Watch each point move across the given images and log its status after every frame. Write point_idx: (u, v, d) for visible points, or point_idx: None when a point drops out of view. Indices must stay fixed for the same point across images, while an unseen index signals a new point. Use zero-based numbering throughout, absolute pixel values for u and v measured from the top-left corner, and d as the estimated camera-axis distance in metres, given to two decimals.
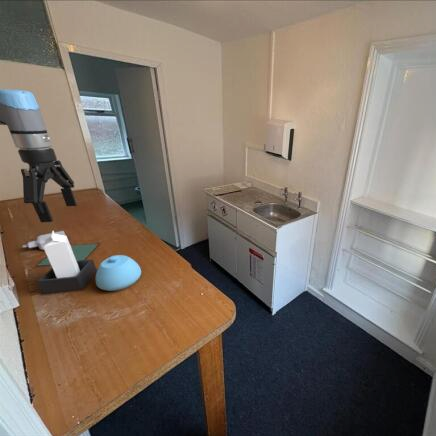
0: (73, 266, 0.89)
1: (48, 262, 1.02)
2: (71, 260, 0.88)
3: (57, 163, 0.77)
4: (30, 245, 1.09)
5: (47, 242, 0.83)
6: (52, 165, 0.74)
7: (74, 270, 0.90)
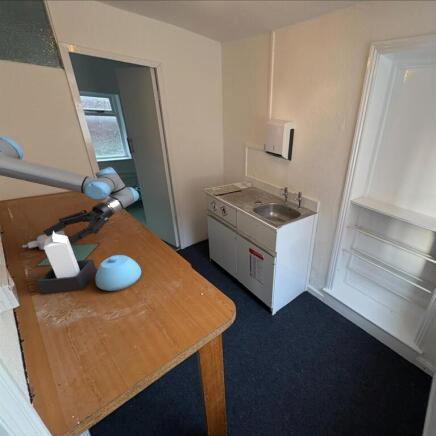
0: (73, 267, 0.89)
1: (48, 262, 1.02)
2: (71, 261, 0.88)
3: None
4: (30, 245, 1.09)
5: (48, 243, 0.82)
6: None
7: (74, 270, 0.90)
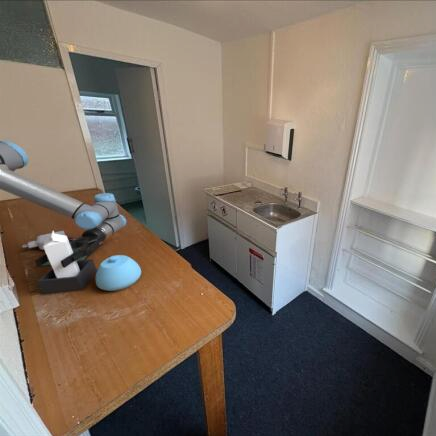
0: (73, 266, 0.89)
1: (48, 262, 1.02)
2: None
3: None
4: (30, 245, 1.09)
5: (47, 242, 0.83)
6: None
7: (74, 270, 0.90)
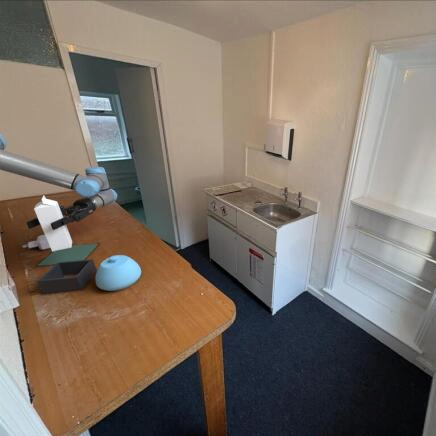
0: (63, 230, 0.94)
1: (48, 262, 1.02)
2: None
3: None
4: (30, 245, 1.09)
5: (38, 205, 0.88)
6: None
7: (64, 234, 0.94)
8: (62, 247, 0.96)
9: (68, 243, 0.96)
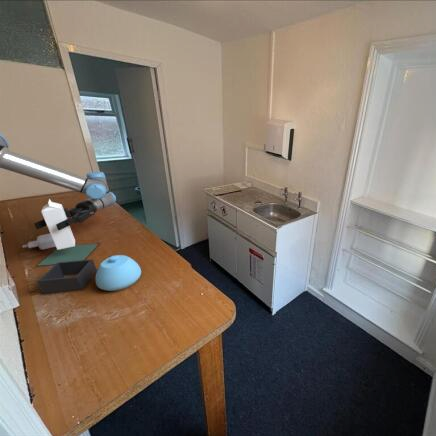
0: (67, 230, 1.03)
1: (48, 262, 1.02)
2: None
3: None
4: (30, 245, 1.09)
5: (44, 208, 0.97)
6: None
7: (68, 234, 1.04)
8: (66, 246, 1.05)
9: (72, 242, 1.06)
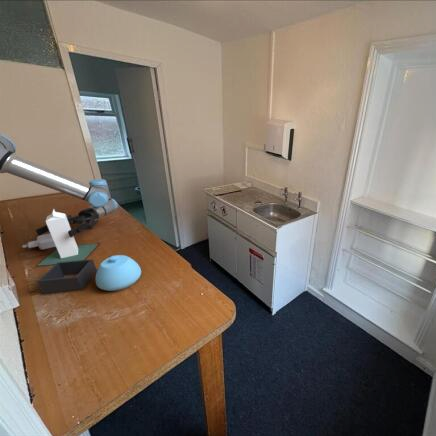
0: (71, 239, 1.05)
1: (48, 262, 1.02)
2: None
3: (71, 219, 1.15)
4: (30, 245, 1.09)
5: (49, 218, 0.99)
6: None
7: (71, 243, 1.06)
8: (70, 254, 1.07)
9: (75, 251, 1.08)
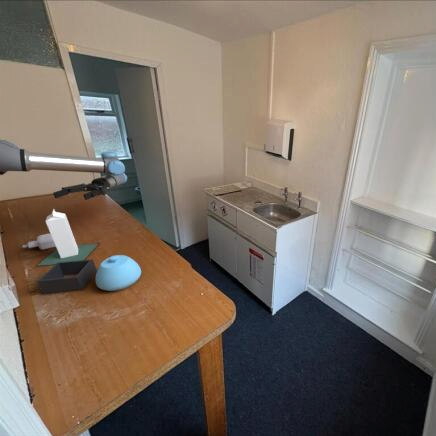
0: (71, 239, 1.05)
1: (48, 262, 1.02)
2: (69, 234, 1.04)
3: (84, 187, 1.22)
4: (30, 245, 1.09)
5: (49, 218, 0.99)
6: None
7: (71, 243, 1.06)
8: (70, 254, 1.07)
9: (75, 251, 1.08)
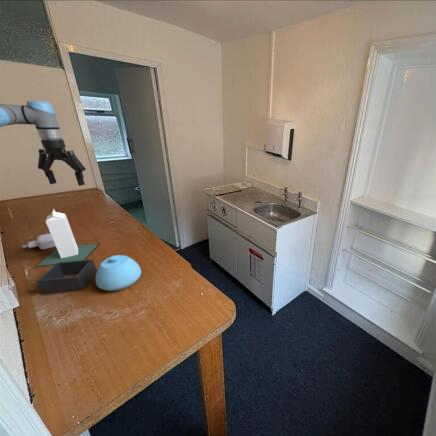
0: (71, 239, 1.05)
1: (48, 262, 1.02)
2: (69, 234, 1.04)
3: None
4: (30, 245, 1.09)
5: (49, 218, 0.99)
6: None
7: (71, 243, 1.06)
8: (70, 254, 1.07)
9: (75, 251, 1.08)
